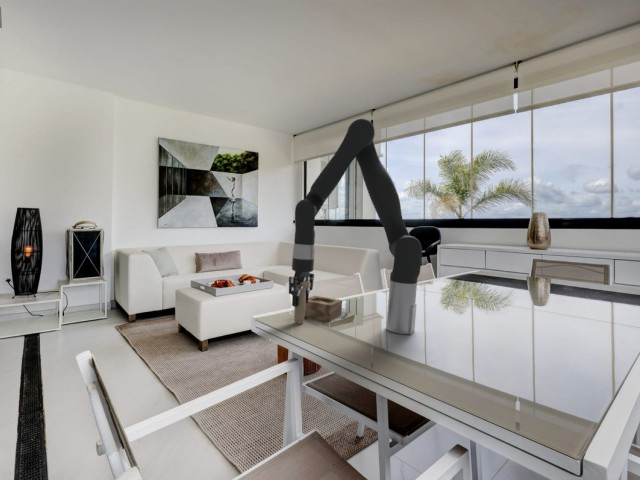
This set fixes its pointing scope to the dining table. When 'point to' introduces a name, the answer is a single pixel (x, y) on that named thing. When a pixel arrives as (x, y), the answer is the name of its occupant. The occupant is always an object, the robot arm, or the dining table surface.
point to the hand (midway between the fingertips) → (300, 304)
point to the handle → (301, 304)
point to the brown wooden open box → (323, 308)
